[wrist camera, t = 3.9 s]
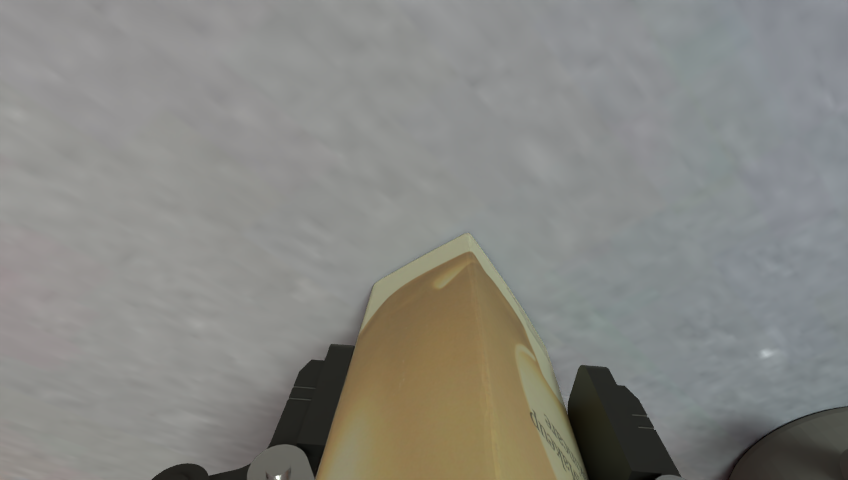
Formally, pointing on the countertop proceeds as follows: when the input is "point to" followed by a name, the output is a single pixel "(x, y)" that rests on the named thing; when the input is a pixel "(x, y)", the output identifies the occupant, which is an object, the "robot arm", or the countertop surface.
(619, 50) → the countertop surface
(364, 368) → the skincare box
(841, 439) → the mug
